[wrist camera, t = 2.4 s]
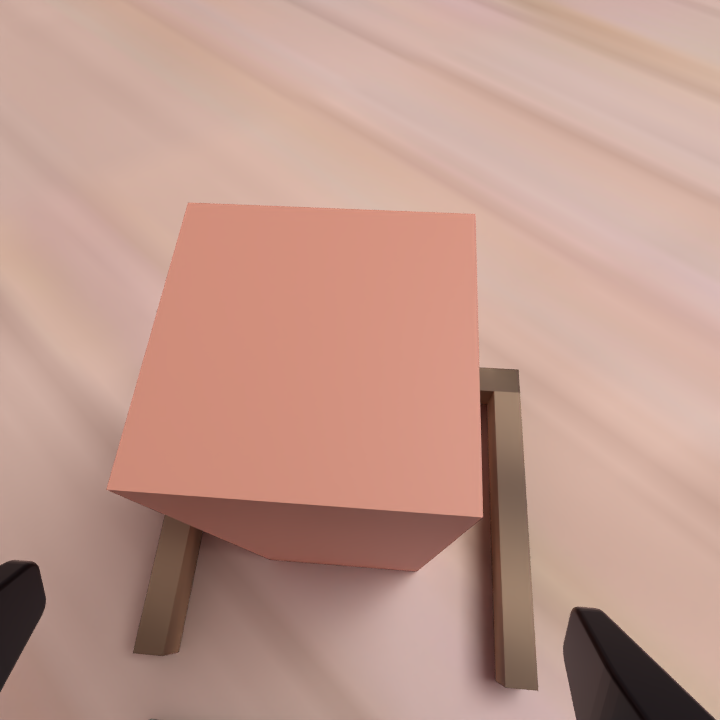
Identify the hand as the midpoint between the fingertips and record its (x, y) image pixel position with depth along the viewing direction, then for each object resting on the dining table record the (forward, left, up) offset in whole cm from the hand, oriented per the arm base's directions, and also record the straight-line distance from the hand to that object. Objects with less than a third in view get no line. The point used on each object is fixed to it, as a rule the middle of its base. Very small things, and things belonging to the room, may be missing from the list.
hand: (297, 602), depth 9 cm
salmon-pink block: (+3, +3, -11) cm, 12 cm away
